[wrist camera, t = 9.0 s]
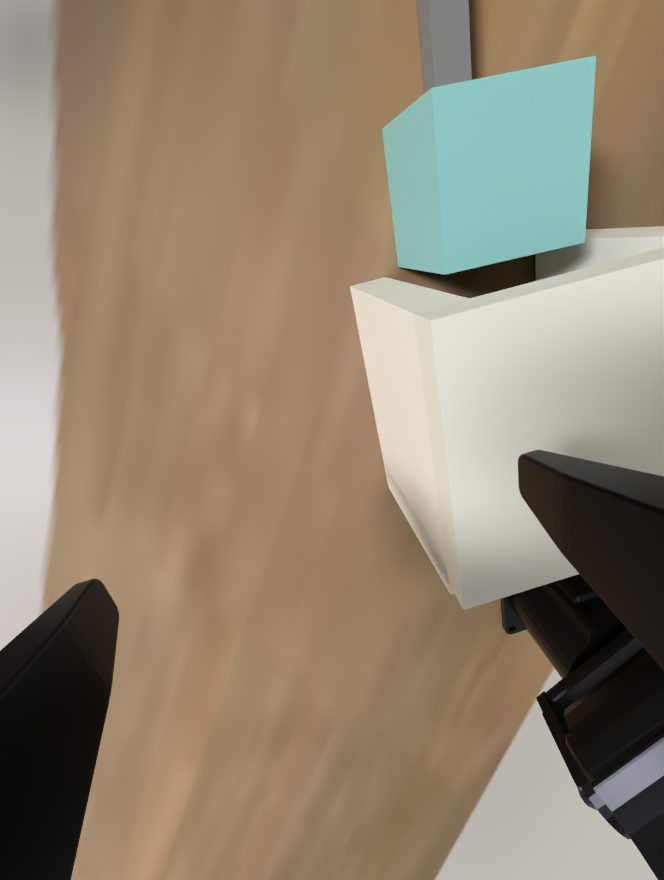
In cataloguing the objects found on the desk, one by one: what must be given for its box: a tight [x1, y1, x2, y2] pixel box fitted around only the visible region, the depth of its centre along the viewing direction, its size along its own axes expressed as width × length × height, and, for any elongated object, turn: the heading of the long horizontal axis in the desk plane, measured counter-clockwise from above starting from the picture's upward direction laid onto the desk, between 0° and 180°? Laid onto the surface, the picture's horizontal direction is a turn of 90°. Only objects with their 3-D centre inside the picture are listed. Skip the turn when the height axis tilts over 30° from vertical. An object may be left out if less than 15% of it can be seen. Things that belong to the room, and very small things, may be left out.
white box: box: [350, 226, 664, 610], centre depth 17 cm, size 10×10×9 cm
